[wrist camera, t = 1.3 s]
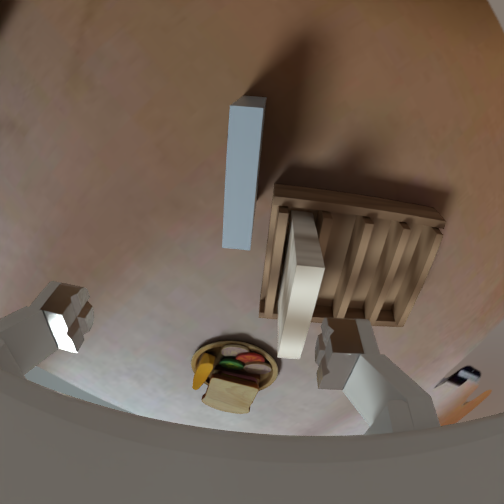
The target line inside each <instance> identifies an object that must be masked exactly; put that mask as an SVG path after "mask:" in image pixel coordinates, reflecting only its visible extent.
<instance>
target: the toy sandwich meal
mask: <svg viewBox="0 0 504 504" xmlns="http://www.w3.org/2000/svg"><path fill="white" fill-rule="evenodd" d="M191 366H192V370H193V372H194V373H195V375H194V379H193V389H195V390H197V389H199V388H200V386H201V385H202V384H203V383H205V384H206V385H208V388H207V391H206V393H205V394H204V395H203V396H202V402H203V403H205V404H206V405H208V406H210V407H212V408H215V409H218V410H221V411H225V412H230V413H239V414H243V413H248V412H249V411H250V405H251V404H252V403H253V400H254V398H255V396H256V394H257V393H258V391H260V390H263V389H265V388H267V387H268V386H270V385H271V384H272V383H273V382H274V381H275V380H276V378H277V376H278V366H277V363H276V362H275V360H274V359H273V358H272V356H270V355H269V354H268V353H267V352H265V351H264V350H262V349H260V348H259V347H257V346H254V345H252V344H249V343H245V342H240V341H219V342H215V343H211V344H208V345H206V346H203V347H202V348H200V349H199V350H198V351H196V353H195V354H194V355H193V357H192V360H191Z"/></svg>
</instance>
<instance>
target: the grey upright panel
mask: <svg viewBox="0 0 504 504" xmlns="http://www.w3.org/2000/svg"><path fill="white" fill-rule="evenodd" d="M265 108H266V97H256V96H242V97H241V98H239V99H238V100H237V101H235V102H234V103H233V104H231V105H230V113H229V128H228V144H227V161H226V179H225V198H224V219H223V243H222V248H232V249H242V250H250V247H251V239H252V232H253V224H254V216H255V209H256V201H257V190H258V180H259V170H260V159H261V149H262V139H263V128H264V118H265Z"/></svg>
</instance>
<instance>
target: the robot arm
mask: <svg viewBox="0 0 504 504" xmlns="http://www.w3.org/2000/svg"><path fill="white" fill-rule="evenodd" d="M89 297H90V296H89V293H88V290H87V289H86V288H84V287H80V286H75V285H71V284H66V283H60V282H56V281H51V282H49V283H48V284H47V286H46V287H45V288H44V289H43V290H42V292H41V293H40V294H39V295H38V296H37V298H36V299H35V300H34V301H33V302H32V304H31V305H30V306H29V307H27V306H25V307H23V308H21V309H19V310H17V311H15V312H13V313H11V314H9V315H7V316H5V317H3V318H1V319H0V504H504V412H503V413H499V414H496V415H492V416H488V417H483V418H480V419H475V420H471V421H466V422H461V423H456V424H450V425H445V426H440V424H439V420H438V417H437V414H436V411H435V408H434V404H433V401H432V398H431V396H430V395H429V394H428V393H427V392H425V391H424V390H423V389H422V388H421V387H420V386H419V385H418V384H417V383H415V382H414V381H413V380H412V379H411V378H410V377H409V376H408V375H407V374H405V373H404V372H403V371H402V370H401V369H400V368H399V367H398V366H396V365H395V364H394V363H393V362H392V361H391V360H390V359H389V358H388V357H386V356H385V355H380V352H379V348H378V345H377V342H376V339H375V335H374V332H373V329H372V326H371V323H370V321H369V320H368V319H347V318H330V317H325V318H324V319H323V322H322V325H321V329H322V333H321V334H320V335H318V338H317V341H316V347H315V362H316V364H317V365H318V366H319V368H318V370H317V382H318V389H333V390H343V392H344V394H345V395H346V396H347V398H348V399H349V400H350V401H351V403H352V404H353V405H354V407H355V408H356V409H357V411H358V412H359V413H360V415H361V416H362V417H363V419H364V420H365V421H366V422H367V424H368V425H369V426H370V428H369V429H368V430H367V432H366V433H365V434H364V435H349V436H289V435H269V434H255V433H244V432H234V431H225V430H217V429H209V428H202V427H196V426H190V425H184V424H178V423H172V422H167V421H162V420H157V419H153V418H148V417H143V416H139V415H135V414H131V413H127V412H123V411H119V410H115V409H111V408H108V407H104V406H101V405H97V404H94V403H91V402H87V401H84V400H81V399H78V398H75V397H72V396H68V395H65V394H63V393H60V392H57V391H54V390H52V389H49V388H46V387H43V386H41V385H39V384H36V383H33V382H31V381H29V380H27V379H26V378H25V376H24V375H25V374H26V373H27V372H28V371H30V370H31V369H33V368H34V367H35V366H37V365H38V364H39V363H41V362H42V361H43V360H45V359H46V358H47V357H49V356H50V355H51V354H53V353H54V352H55V351H57V350H58V348H59V349H63V350H67V351H71V352H75V353H77V352H78V350H79V348H80V347H81V345H82V343H83V341H84V336H83V335H84V334H86V333H87V332H89V331H90V329H91V327H92V325H93V321H94V311H93V307H92V306H91V304H90V303H89V302H88V299H89Z"/></svg>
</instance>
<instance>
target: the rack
mask: <svg viewBox="0 0 504 504" xmlns="http://www.w3.org/2000/svg"><path fill="white" fill-rule="evenodd" d="M445 224H446V221H445V220H444V219H443V217H442V216H441V215H440V214H439V213H438V212H437V211H436V210H435V209H434V208H432V207H427V206H422V205H416V204H411V203H406V202H400V201H394V200H389V199H383V198H377V197H371V196H364V195H358V194H351V193H345V192H338V191H330V190H323V189H316V188H308V187H300V186H292V185H283V184H274V191H273V199H272V207H271V216H270V224H269V232H268V240H267V248H266V256H265V264H264V272H263V280H262V288H261V295H260V307H259V318H267V319H278V349H277V357H278V358H291V359H300V356H301V353H302V349H303V346H304V343H305V339H306V336H307V333H308V329H309V326H310V322H315V323H322V322H323V319H324V318H325V317H330V318H347V319H368V320H369V321H370V323H371V326H389V327H403V326H404V324H405V322H406V320H407V318H408V316H409V314H410V312H411V310H412V308H413V306H414V304H415V301H416V299H417V297H418V295H419V293H420V291H421V288H422V286H423V284H424V282H425V279H426V277H427V275H428V273H429V270H430V268H431V265H432V263H433V261H434V258H435V256H436V253H437V251H438V248H439V245H440V243H441V240H442V238H443V234H442V233H441V231H440V230H439V229H438V228H442V229H444V227H445Z"/></svg>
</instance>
